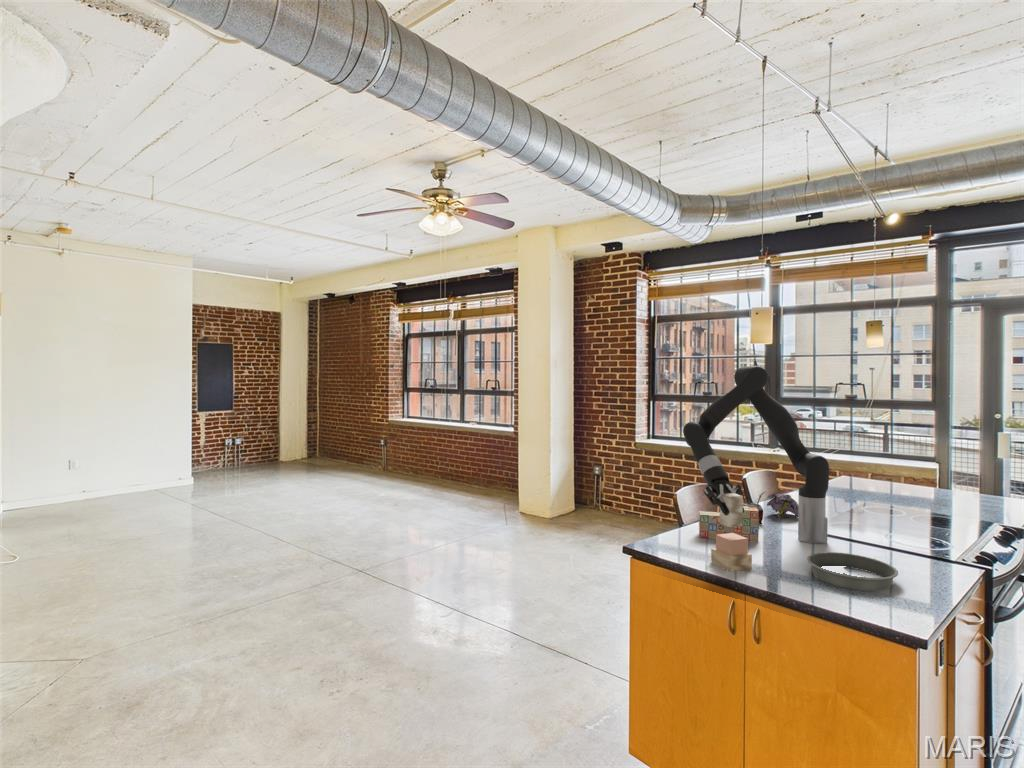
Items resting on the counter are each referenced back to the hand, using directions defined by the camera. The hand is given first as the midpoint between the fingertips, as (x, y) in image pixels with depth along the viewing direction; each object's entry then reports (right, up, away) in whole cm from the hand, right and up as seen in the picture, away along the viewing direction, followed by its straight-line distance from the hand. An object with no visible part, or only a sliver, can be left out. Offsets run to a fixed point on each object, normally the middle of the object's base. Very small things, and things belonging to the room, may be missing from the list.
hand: (734, 513), depth 186 cm
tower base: (0, -18, +3) cm, 19 cm away
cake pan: (+33, -19, -9) cm, 39 cm away
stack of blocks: (+11, -18, +34) cm, 40 cm away
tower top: (0, -13, +2) cm, 14 cm away
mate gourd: (+31, -17, +55) cm, 65 cm away
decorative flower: (+49, -17, +67) cm, 85 cm away
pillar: (0, -4, +2) cm, 5 cm away
